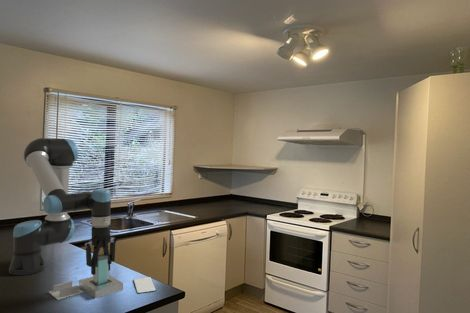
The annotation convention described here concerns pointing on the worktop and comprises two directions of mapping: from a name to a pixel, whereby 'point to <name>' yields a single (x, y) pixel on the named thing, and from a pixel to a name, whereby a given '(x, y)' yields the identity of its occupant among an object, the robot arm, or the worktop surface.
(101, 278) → the plug
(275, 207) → the worktop surface
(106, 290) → the port panel
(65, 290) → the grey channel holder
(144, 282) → the smartphone
